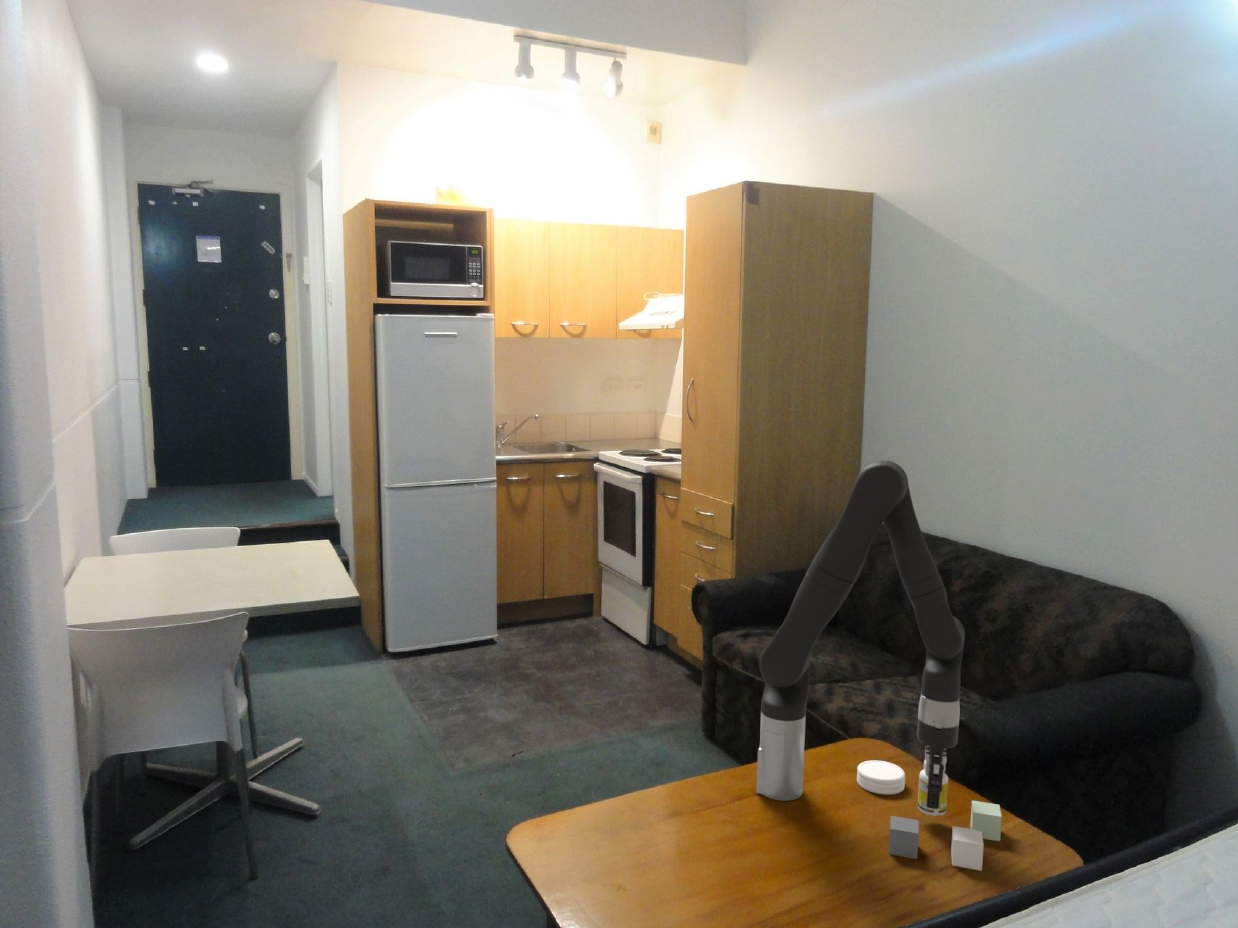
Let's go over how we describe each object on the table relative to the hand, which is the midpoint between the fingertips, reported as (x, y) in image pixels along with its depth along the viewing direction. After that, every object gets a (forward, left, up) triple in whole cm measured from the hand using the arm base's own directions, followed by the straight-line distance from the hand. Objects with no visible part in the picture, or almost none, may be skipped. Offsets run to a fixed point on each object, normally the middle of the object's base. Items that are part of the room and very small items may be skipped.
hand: (932, 799), depth 173 cm
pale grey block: (+6, -12, -5) cm, 14 cm away
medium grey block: (-5, -12, -5) cm, 14 cm away
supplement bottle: (0, 0, -2) cm, 2 cm away
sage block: (+10, 0, -5) cm, 11 cm away
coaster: (-10, +14, -5) cm, 18 cm away
